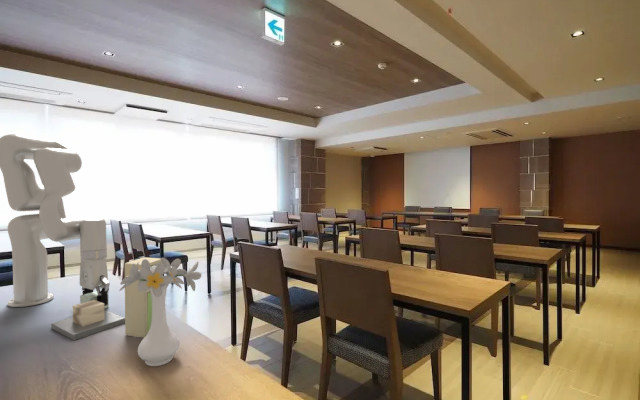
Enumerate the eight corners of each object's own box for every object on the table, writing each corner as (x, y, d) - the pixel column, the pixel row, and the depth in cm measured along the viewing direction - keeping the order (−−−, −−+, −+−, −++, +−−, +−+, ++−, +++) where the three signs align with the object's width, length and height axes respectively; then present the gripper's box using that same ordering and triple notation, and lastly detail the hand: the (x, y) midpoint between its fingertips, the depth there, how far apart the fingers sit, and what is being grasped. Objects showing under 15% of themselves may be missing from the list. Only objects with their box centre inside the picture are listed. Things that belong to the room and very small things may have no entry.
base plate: (51, 328, 100) (51, 323, 100) (101, 313, 112) (101, 308, 112) (73, 340, 92) (73, 334, 92) (125, 322, 104) (125, 318, 104)
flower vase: (208, 351, 87) (208, 256, 86) (136, 385, 72) (135, 270, 71) (179, 337, 95) (179, 250, 94) (108, 366, 80) (107, 262, 78)
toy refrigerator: (147, 338, 94) (146, 264, 93) (124, 335, 95) (123, 262, 95) (165, 326, 102) (165, 258, 101) (144, 324, 103) (143, 257, 102)
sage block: (80, 309, 115) (80, 295, 115) (98, 304, 120) (98, 290, 120) (90, 313, 112) (89, 298, 112) (108, 307, 117) (108, 293, 117)
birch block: (72, 321, 101) (72, 305, 101) (94, 315, 106) (94, 299, 106) (82, 326, 98) (82, 309, 98) (104, 319, 103) (104, 303, 103)
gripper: (69, 253, 116) (71, 302, 117) (94, 259, 108) (96, 311, 108) (93, 250, 123) (94, 296, 124) (118, 255, 114) (120, 304, 115)
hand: (95, 303), depth 116 cm, fingers open, 9 cm apart
